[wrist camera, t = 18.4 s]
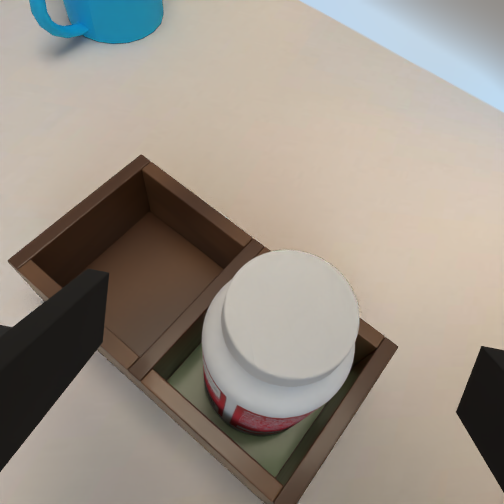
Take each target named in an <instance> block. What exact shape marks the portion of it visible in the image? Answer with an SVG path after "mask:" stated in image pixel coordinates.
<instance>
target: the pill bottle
mask: <svg viewBox="0 0 504 504" xmlns="http://www.w3.org/2000/svg"><path fill="white" fill-rule="evenodd" d="M359 319H360V318H359V307H358V303H357V299H356V296H355V294H354V292H353V290H352V288H351V286H350V284H349V283H348V281H347V280H346V279H345V277H344V276H343V275H342V274H341V273H340V272H339V271H338V270H337V269H336V268H335V267H334V266H333V265H331V264H330V263H329V262H327V261H325V260H324V259H322V258H320V257H318V256H315V255H313V254H310V253H307V252H303V251H298V250H277V251H271V252H268V253H264V254H262V255H259V256H257V257H255V258H253V259H252V260H250V261H249V262H247V263H246V264H245V265H244V266H242V268H241V269H240V270H239V271H238V272H237V273H236V274H235V275H234V277H233V279H231V280H230V281H229V282H228V283H227V284H225V285H224V286H223V287H222V288H221V289H220V291H219V292H218V293H217V294H216V296H215V297H214V299H213V300H212V302H211V304H210V306H209V308H208V310H207V313H206V316H205V319H204V323H203V329H202V355H203V371H204V384H205V389H206V393H207V396H208V399H209V401H210V403H211V405H212V407H213V409H214V410H215V412H216V413H217V414H218V415H219V416H220V417H221V418H222V419H223V420H224V421H225V422H226V423H227V424H228V425H230V426H231V427H233V428H234V429H236V430H238V431H241V432H243V433H247V434H251V435H258V436H265V435H273V434H277V433H280V432H282V431H285V430H287V429H289V428H291V427H293V426H294V425H295V424H297V423H298V422H300V421H301V420H303V419H304V418H305V417H307V416H308V415H310V414H311V413H312V412H314V411H315V410H317V409H318V408H320V407H321V406H323V405H324V404H325V403H326V402H328V401H329V400H330V399H331V398H332V397H333V396H334V395H335V394H336V393H337V392H338V390H339V389H340V388H341V386H342V385H343V384H344V382H345V380H346V378H347V376H348V374H349V372H350V369H351V366H352V363H353V359H354V353H355V341H356V338H357V335H358V330H359Z"/></svg>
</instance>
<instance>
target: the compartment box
mask: <svg viewBox="0 0 504 504" xmlns="http://www.w3.org/2000/svg"><path fill="white" fill-rule="evenodd" d="M268 252H271V251H270V250H269V249H267V248H266V247H264V246H263V245H262V244H260V243H259V242H258V241H256V240H255V239H253V238H252V237H251V236H250V235H248V234H247V233H246V232H244V231H243V230H242V229H240V228H239V227H238V226H236V225H235V224H234V223H232V222H231V221H230V220H228V219H227V218H226V217H224V216H223V215H222V214H220V213H219V212H218V211H216V210H215V209H214V208H212V207H211V206H210V205H208V204H207V203H205V202H204V201H203V200H201V199H200V198H199V197H197V196H196V195H195V194H193V193H192V192H191V191H189V190H188V189H187V188H185V187H184V186H183V185H181V184H180V183H179V182H177V181H176V180H175V179H173V178H172V177H171V176H169V175H168V174H167V173H165V172H164V171H163V170H161V169H160V168H159V167H157V166H156V165H155V164H153V163H152V162H150V161H149V160H148V159H147V158H145V157H144V156H143V155H140V156H138V157H137V158H136V159H135V160H133V161H132V162H131V163H130V164H128V165H127V166H126V167H125V168H123V169H122V170H121V171H119V172H118V173H117V174H116V175H114V176H113V177H112V178H111V179H109V180H108V181H107V182H106V183H104V184H103V185H102V186H101V187H99V188H98V189H97V190H96V191H94V192H93V193H92V194H91V195H89V196H88V197H87V198H85V199H84V200H83V201H82V202H80V203H79V204H78V205H77V206H75V207H74V208H73V209H72V210H70V211H69V212H68V213H67V214H65V215H64V216H63V217H62V218H60V219H59V220H58V221H57V222H55V223H54V224H53V225H51V226H50V227H49V228H48V229H46V230H45V231H44V232H43V233H41V234H40V235H39V236H38V237H36V238H35V239H34V240H33V241H31V242H30V243H29V244H28V245H26V246H25V247H24V248H22V249H21V250H20V251H19V252H17V253H16V254H15V255H14V256H12V257H11V258H10V259H9V260H8V262H9V263H10V265H11V266H12V267H13V268H14V269H15V270H16V271H17V272H18V273H19V274H20V276H21V277H22V278H23V279H24V280H25V281H26V282H27V283H28V284H29V285H30V286H31V288H32V289H33V290H34V291H35V292H36V293H37V294H38V295H39V296H40V297H41V299H42V300H43V301H47V300H48V299H49V298H50V297H52V296H53V295H54V294H56V293H57V292H58V291H59V290H61V289H62V288H63V287H64V286H66V285H67V284H68V283H70V282H71V281H72V280H73V279H75V278H76V277H77V276H79V275H80V274H81V273H82V272H84V271H85V270H86V269H87V268H89V269H94V270H99V271H104V272H109V281H108V292H107V302H106V313H105V323H104V334H103V343H102V344H101V345H100V346H99V348H98V349H97V350H98V351H99V352H100V353H101V354H102V355H103V356H105V357H106V358H107V359H108V360H109V361H110V362H111V363H112V364H113V365H114V366H115V367H117V368H118V369H119V370H120V371H121V372H122V373H123V374H124V375H125V376H126V377H127V378H129V379H130V380H131V381H132V382H133V383H134V384H135V385H136V386H137V387H138V388H139V389H141V390H142V391H143V392H144V393H145V394H146V395H147V396H148V397H149V398H150V399H151V400H152V401H154V402H155V403H156V404H157V405H158V406H159V407H160V408H161V409H162V410H163V411H164V412H166V413H167V414H168V415H169V416H170V417H171V418H172V419H173V420H174V421H175V422H176V423H178V424H179V425H180V426H181V427H182V428H183V429H184V430H185V431H186V432H187V433H188V434H190V435H191V436H192V437H193V438H194V439H195V440H196V441H197V442H198V443H199V444H200V445H202V446H203V447H204V448H205V449H206V450H207V451H208V452H209V453H210V454H211V455H212V456H214V457H215V458H216V459H217V460H218V461H219V462H220V463H221V464H222V465H223V466H224V467H226V468H227V469H228V470H229V471H230V472H231V473H232V474H233V475H234V476H235V477H236V478H238V479H239V480H240V481H241V482H242V483H243V484H244V485H245V486H246V487H247V488H248V489H250V490H251V491H252V492H253V493H254V494H255V495H256V496H257V497H258V498H259V499H260V500H262V501H263V502H264V503H265V504H297V502H298V501H299V499H300V498H301V496H302V495H303V493H304V491H305V490H306V488H307V487H308V485H309V484H310V482H311V481H312V479H313V478H314V476H315V475H316V473H317V471H318V470H319V468H320V467H321V465H322V464H323V462H324V461H325V459H326V458H327V456H328V455H329V453H330V452H331V450H332V448H333V447H334V445H335V444H336V442H337V441H338V439H339V438H340V436H341V435H342V433H343V432H344V430H345V428H346V427H347V425H348V424H349V422H350V421H351V419H352V418H353V416H354V415H355V413H356V412H357V410H358V408H359V407H360V405H361V404H362V402H363V401H364V399H365V398H366V396H367V395H368V393H369V392H370V390H371V388H372V387H373V385H374V384H375V382H376V381H377V379H378V378H379V376H380V375H381V373H382V372H383V370H384V368H385V367H386V365H387V364H388V362H389V361H390V359H391V358H392V356H393V355H394V353H395V352H396V350H397V348H398V346H397V345H395V344H394V343H393V342H391V341H390V340H389V339H387V338H386V337H385V338H384V335H382V334H381V333H380V332H378V331H377V330H375V329H374V328H373V327H371V326H370V325H369V324H367V323H366V322H365V321H363V320H362V319H361V318H360V319H359V330H358V335H357V338H356V341H355V353H354V359H353V363H352V366H351V369H350V372H349V374H348V376H347V378H346V380H345V382H344V384H343V385H342V386H341V388H340V389H339V390H338V392H337V393H336V394H335V395H334V396H333V397H332V398H331V399H330V400H329V401H328V402H326V403H325V404H324V405H323V406H321V407H320V408H318V409H317V410H315V411H314V412H312V413H311V414H310V415H308V416H307V417H305V418H304V419H303V420H301V421H300V422H298V423H297V424H295V425H294V426H293V427H291V428H289V429H287V430H285V431H282V432H280V433H277V434H273V435H265V436H258V435H251V434H247V433H243V432H241V431H238V430H236V429H234V428H233V427H231V426H230V425H228V424H227V423H226V422H225V421H224V420H223V419H222V418H221V417H220V416H219V415H218V414H217V413H216V412H215V410H214V409H213V407H212V405H211V403H210V401H209V399H208V396H207V393H206V389H205V384H204V371H203V355H202V329H203V323H204V319H205V316H206V313H207V310H208V308H209V306H210V304H211V302H212V300H213V299H214V297H215V296H216V294H217V293H218V292H219V291H220V289H221V288H222V287H223V286H224V285H225V284H227V283H228V282H229V281H230V280H231V279H233V277H234V275H235V274H236V273H237V272H238V271H239V270H240V269H241V268H242V266H244V265H245V264H246V263H247V262H249V261H250V260H252V259H253V258H255V257H257V256H259V255H262V254H264V253H268Z"/></svg>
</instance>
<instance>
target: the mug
mask: <svg viewBox="0 0 504 504" xmlns="http://www.w3.org/2000/svg"><path fill="white" fill-rule="evenodd" d="M29 1H30V6H31V12H32V14H33V15H34V17H35V19H36V20H37V22H38V24H39V25H40V26H41V27H42V28H43V29H45V30H46V31H48V32H49V33H50V34H52V35H54V36H59V37H64V38H71V37H76V36H81V35H83V36H85V37H87V38H90V39H92V40H95V41H98V42H105V43H112V44H115V43H129V42H132V41H136V40H139V39H142V38H144V37H146V36H147V35H149V34H151V33H152V32H154V31H155V30H156V28H157V27H158V26H159V25H160V24H161V21H162V18H163V4H162V0H63V1H64V5H65V8H66V11H67V15H68V18H69V21H70V22H71V24H72V25H67V26H62V25H57V24H56V23H55V22H53V21H52V20H51V18H50V16H49V14H48V13H47V9H46V3H45V0H29Z"/></svg>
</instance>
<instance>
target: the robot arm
mask: <svg viewBox="0 0 504 504" xmlns="http://www.w3.org/2000/svg"><path fill="white" fill-rule="evenodd" d="M108 281H109V272H104V271H99V270H94V269H89V268H87V269H86V270H85V271H84V272H82V273H81V274H80V275H79V276H77V277H76V278H75V279H73V280H72V281H71V282H70V283H68V284H67V285H66V286H64V287H63V288H62V289H61V290H59V291H58V292H57V293H56V294H54V295H53V296H52V297H50V298H49V299H48V300H47V301H45V302H44V303H43V304H42V305H40V306H39V307H38V308H36V309H35V310H34V311H33V312H31V313H30V314H29V315H27V316H26V317H25V318H24V319H22V320H21V321H20V322H19V323H17V324H16V325H15V326H13V327H8V326H3V325H0V472H1V470H2V469H3V468H4V467H5V465H6V464H7V463H8V462H9V460H10V459H11V458H12V456H13V455H14V454H15V453H16V451H17V450H18V449H19V448H20V446H21V445H22V444H23V443H24V441H25V440H26V439H27V437H28V436H29V435H30V434H31V432H32V431H33V430H34V429H35V427H36V426H37V425H38V424H39V422H40V421H41V420H42V419H43V417H44V416H45V415H46V413H47V412H48V411H49V410H50V408H51V407H52V406H53V405H54V403H55V402H56V401H57V400H58V398H59V397H60V396H61V394H62V393H63V392H64V391H65V389H66V388H67V387H68V386H69V384H70V383H71V382H72V381H73V379H74V378H75V377H76V375H77V374H78V373H79V372H80V370H81V369H82V368H83V367H84V365H85V364H86V363H87V362H88V360H89V359H90V358H91V356H92V355H93V354H94V353H95V351H96V350H97V349H98V348H99V346H100V345H101V344H102V343H103V334H104V323H105V313H106V302H107V292H108ZM456 413H457V415H458V416H459V418H460V420H461V421H462V423H463V425H464V426H465V428H466V430H467V432H468V433H469V435H470V437H471V438H472V440H473V442H474V443H475V445H476V447H477V448H478V450H479V452H480V453H481V455H482V457H483V458H484V460H485V462H486V463H487V465H488V467H489V469H490V470H491V472H492V474H493V475H494V477H495V479H496V480H497V482H498V484H499V485H500V487H501V489H502V490H503V492H504V350H499V349H494V348H489V347H484V346H481V349H480V351H479V354H478V356H477V359H476V362H475V364H474V367H473V369H472V372H471V375H470V377H469V380H468V382H467V385H466V388H465V390H464V393H463V395H462V398H461V401H460V403H459V406H458V408H457V411H456Z"/></svg>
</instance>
